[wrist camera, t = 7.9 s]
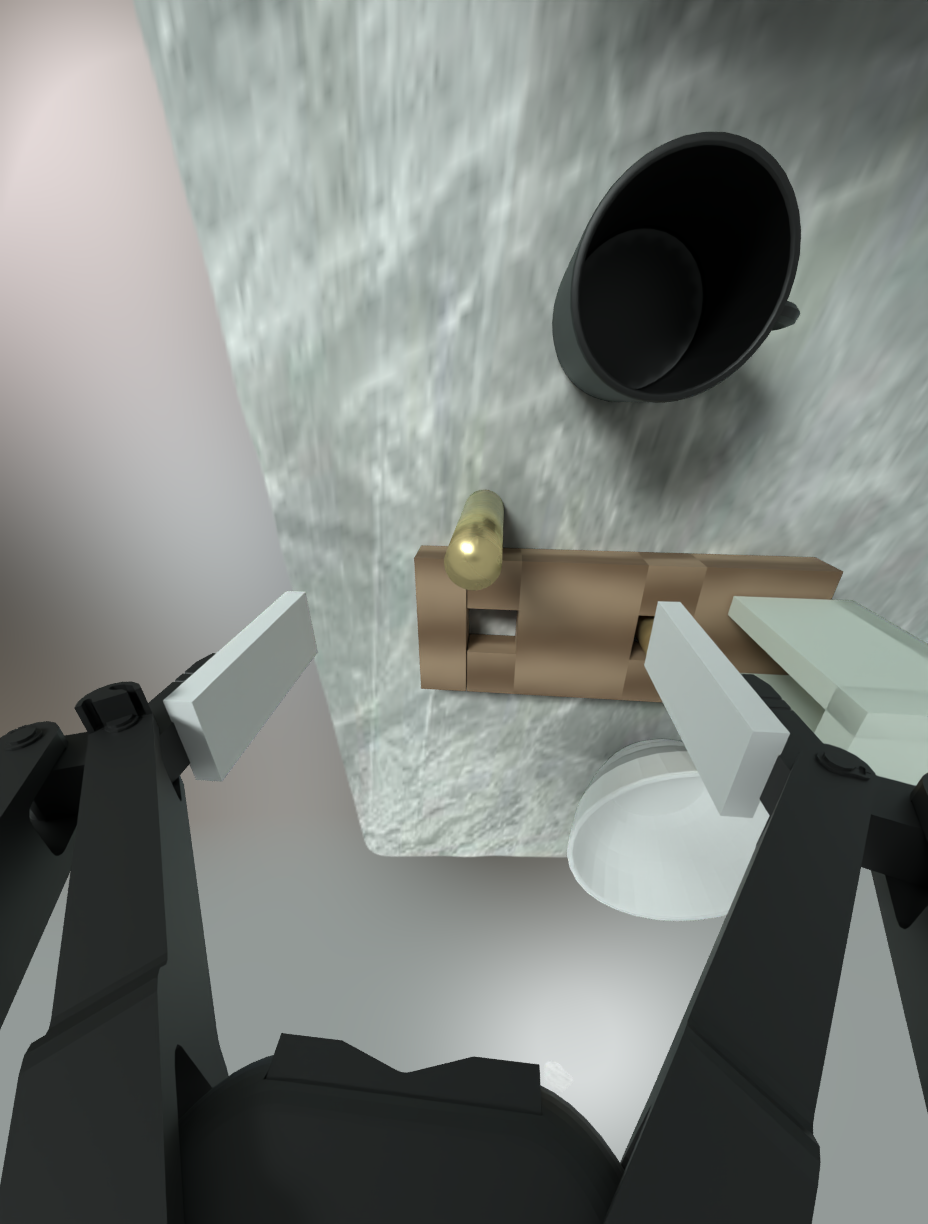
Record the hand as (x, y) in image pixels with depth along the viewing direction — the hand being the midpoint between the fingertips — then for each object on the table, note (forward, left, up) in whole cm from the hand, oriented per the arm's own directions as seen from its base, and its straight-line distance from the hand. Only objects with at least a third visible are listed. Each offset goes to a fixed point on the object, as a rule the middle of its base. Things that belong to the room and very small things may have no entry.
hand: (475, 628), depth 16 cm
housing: (+9, +22, -15) cm, 28 cm away
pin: (0, -1, -18) cm, 19 cm away
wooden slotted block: (+9, +9, -18) cm, 23 cm away
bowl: (+27, +17, -19) cm, 37 cm away
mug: (-12, +9, -19) cm, 24 cm away
